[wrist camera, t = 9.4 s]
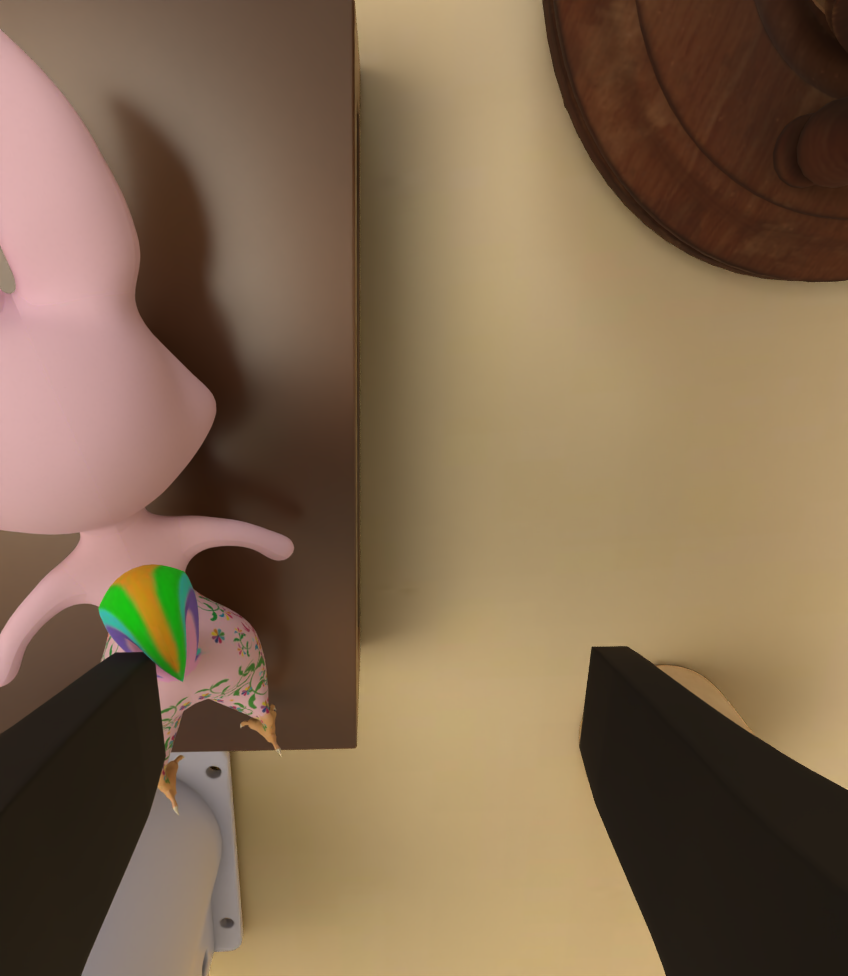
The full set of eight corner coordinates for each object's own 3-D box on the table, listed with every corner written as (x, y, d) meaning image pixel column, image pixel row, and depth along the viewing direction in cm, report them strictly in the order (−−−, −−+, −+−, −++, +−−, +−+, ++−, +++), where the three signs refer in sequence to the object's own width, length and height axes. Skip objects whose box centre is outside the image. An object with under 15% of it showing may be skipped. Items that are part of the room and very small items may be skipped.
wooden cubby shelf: (360, 647, 23) (356, 749, 18) (18, 650, 22) (-78, 759, 17) (360, 64, 17) (355, -4, 13) (-97, 41, 17) (-284, -41, 12)
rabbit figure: (304, 645, 19) (96, -5, 12) (411, 796, 15) (181, -118, 7) (70, 763, 17) (-378, 39, 9) (110, 990, 12) (-716, -90, 5)
